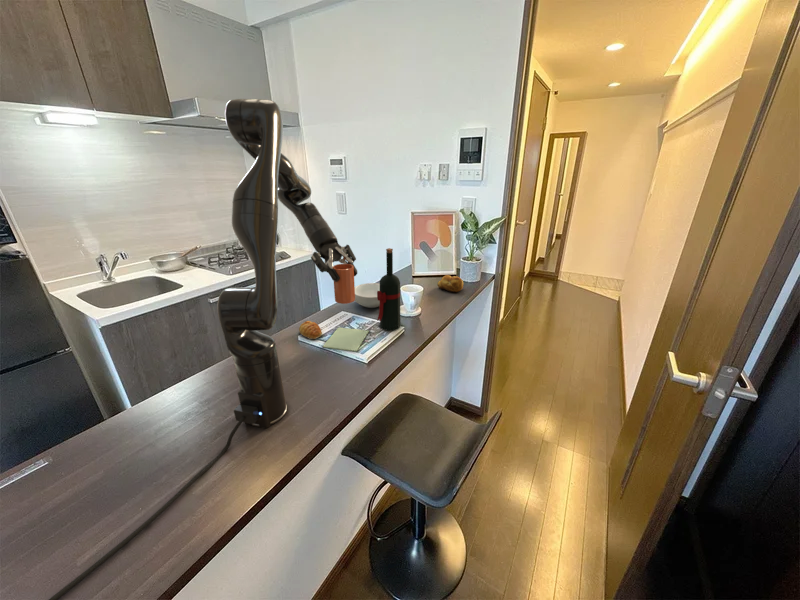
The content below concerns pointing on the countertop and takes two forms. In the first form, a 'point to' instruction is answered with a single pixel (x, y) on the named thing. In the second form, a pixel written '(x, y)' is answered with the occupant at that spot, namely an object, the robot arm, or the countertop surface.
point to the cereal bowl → (367, 295)
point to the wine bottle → (389, 297)
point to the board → (346, 339)
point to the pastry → (310, 330)
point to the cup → (344, 284)
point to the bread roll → (451, 283)
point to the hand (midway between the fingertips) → (346, 277)
